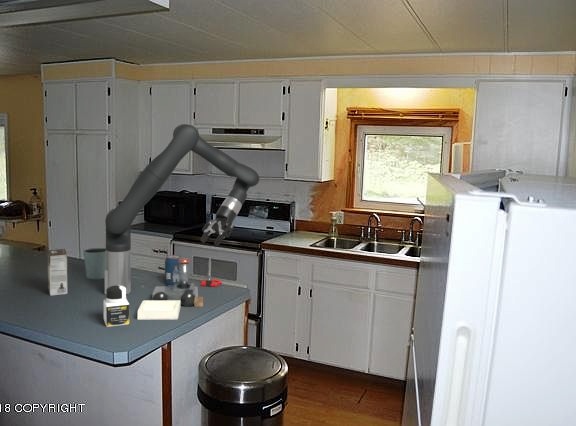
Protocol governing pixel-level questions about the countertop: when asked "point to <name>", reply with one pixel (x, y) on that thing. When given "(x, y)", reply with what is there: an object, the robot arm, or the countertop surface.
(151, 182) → the robot arm
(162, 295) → the trolley
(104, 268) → the teal cup
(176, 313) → the tray
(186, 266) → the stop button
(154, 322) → the countertop surface
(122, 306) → the medicine bottle
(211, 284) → the tow hook
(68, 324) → the countertop surface
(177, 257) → the soda can
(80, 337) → the countertop surface
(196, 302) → the block
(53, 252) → the coffee box
